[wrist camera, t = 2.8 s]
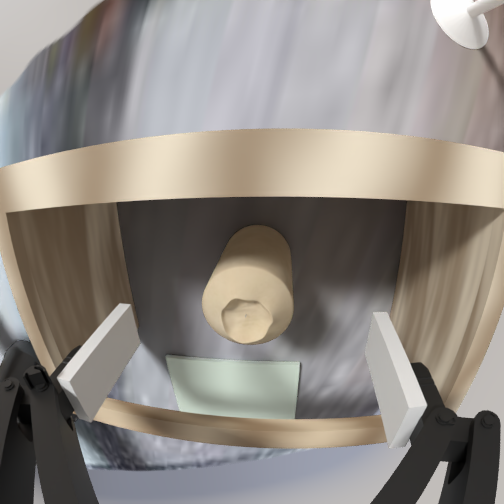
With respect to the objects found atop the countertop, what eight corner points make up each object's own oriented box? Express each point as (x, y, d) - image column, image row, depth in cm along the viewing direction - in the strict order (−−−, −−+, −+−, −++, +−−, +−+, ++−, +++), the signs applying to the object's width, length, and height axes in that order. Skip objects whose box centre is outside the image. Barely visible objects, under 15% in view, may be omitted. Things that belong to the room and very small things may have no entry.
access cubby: (127, 324, 30) (65, 411, 18) (97, 149, 24) (-14, 172, 12) (399, 331, 28) (444, 431, 16) (425, 142, 21) (531, 159, 9)
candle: (219, 229, 26) (183, 284, 17) (285, 218, 25) (286, 270, 16) (233, 288, 28) (210, 362, 18) (295, 279, 27) (300, 354, 17)
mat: (183, 417, 35) (182, 420, 35) (166, 354, 31) (165, 357, 31) (293, 425, 34) (293, 428, 33) (299, 361, 30) (299, 364, 30)
